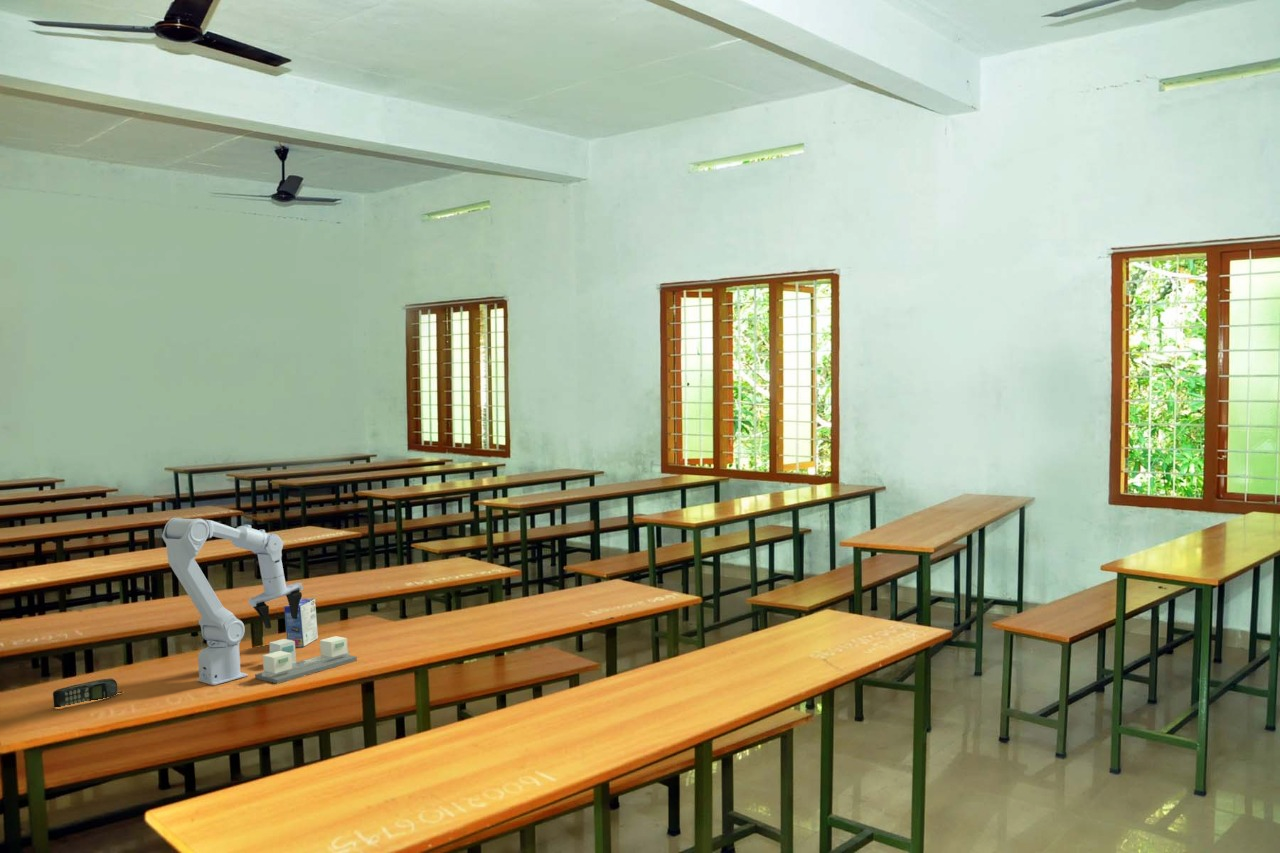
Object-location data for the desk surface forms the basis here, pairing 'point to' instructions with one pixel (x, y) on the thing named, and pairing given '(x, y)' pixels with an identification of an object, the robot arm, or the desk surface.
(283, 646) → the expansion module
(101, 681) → the mobile phone
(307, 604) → the ink cartridge box
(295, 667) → the din rail
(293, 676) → the din board
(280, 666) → the mounted modules
